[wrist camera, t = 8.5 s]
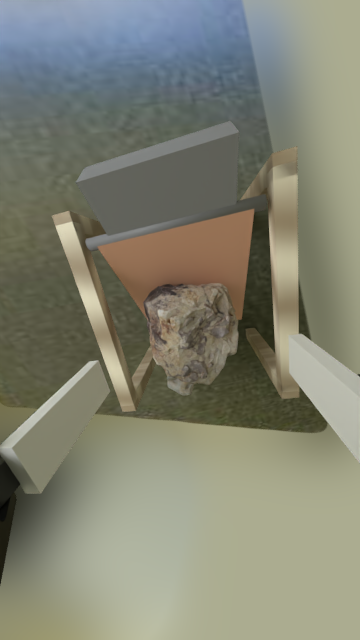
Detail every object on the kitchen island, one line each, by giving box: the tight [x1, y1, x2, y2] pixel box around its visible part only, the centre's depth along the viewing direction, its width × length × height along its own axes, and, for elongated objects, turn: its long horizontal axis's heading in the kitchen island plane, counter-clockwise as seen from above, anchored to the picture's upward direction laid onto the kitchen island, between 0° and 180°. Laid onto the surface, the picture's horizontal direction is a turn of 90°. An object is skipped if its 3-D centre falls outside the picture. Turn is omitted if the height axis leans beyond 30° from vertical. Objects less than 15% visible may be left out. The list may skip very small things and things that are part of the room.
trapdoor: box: [76, 121, 267, 320], centre depth 19 cm, size 19×14×3 cm
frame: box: [52, 146, 299, 412], centre depth 23 cm, size 20×18×15 cm
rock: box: [143, 283, 238, 395], centre depth 19 cm, size 9×12×10 cm
